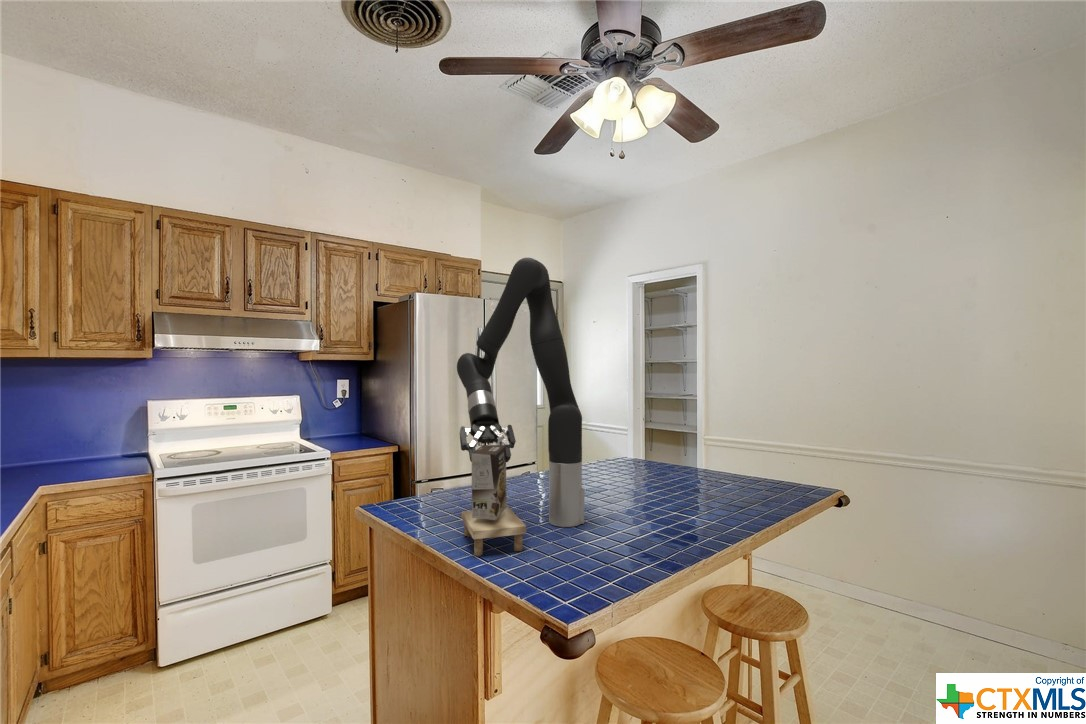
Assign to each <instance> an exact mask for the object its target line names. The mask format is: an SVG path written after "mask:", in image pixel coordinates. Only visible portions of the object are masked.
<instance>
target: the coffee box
mask: <svg viewBox="0 0 1086 724" xmlns="http://www.w3.org/2000/svg"><path fill="white" fill-rule="evenodd" d="M471 454H472V462H471V511H472V518H478V519H488V520H496V519H497V518H498V517H499V516H500V514H501V513H502V512H503V511H504V509H505V508H506V507H508V504H507V503H508V499H507V495H508V494H507V462H506V446H503V445H496V444H491V445H490V444H487V445H486V444H482V445H481V446H480V447H478V448H477V449H476V451H474V452H473V453H471Z"/></svg>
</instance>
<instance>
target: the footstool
mask: <svg viewBox="0 0 1086 724" xmlns="http://www.w3.org/2000/svg"><path fill="white" fill-rule="evenodd" d="M461 520H462V522H463V524H464V527H463V530H464V531H463V532H464V534H463V536H464V537H465V536H467V537H466V538H470V536H471V538H472V539H473V540H474V541H473V556H474V555H475V556H474V557H482V556H483V554H484V552H483V551H484V539H490V538H499V537H509V536H513V541H514V542H513V551H514V552H516V551H520V552H522V551H523V549H524V548H523V546H524V545H523V544H524V543H523V541H524V540H523V535H527V525H526V524H525V523H524V522H523V521H522V520H521V519H520V518H519V517H518V516H517V514H515V512H514V511H513V510H512V509H511V508H510V507H509V506H507V507H506V508H505V509H504V511H503V512H502V513H501V514H500V516H499V517H498V518H497V519H496V520H488V519H478V518H472V510H463V511H461ZM481 555H482V556H481Z"/></svg>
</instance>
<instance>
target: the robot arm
mask: <svg viewBox="0 0 1086 724" xmlns="http://www.w3.org/2000/svg"><path fill="white" fill-rule="evenodd" d="M524 300H526V302H527V306H528V310H529V311H528V312H529V339H530V345H531V349H532V354H533V359H534V361H535V365H536V367H537V369H538V373H539V374H540V378H541V380H542V382H543V384H544V387H545V389H546V390H545V391H546V394H547V398H548V404H549V413H550V414H549V415H548V420H547V421H548V422H547V423H548V426H547V429H548V430H547V433H548V434H547V436H548V438H547V440H548V446H547V448H548V449H547V450H548V523H549V524H550V525H552V526H555V527H560V528H561V527H562V528H573V527H577V526H580V525H581V524H585V497H586V496H585V494H586V492H585V488H583V482H582V481H583V463H582V462H583V433H582V432H583V415H582V412H581V411H580V408H579V405H578V403H577V400H576V397H575V394H574V390H573V388H572V387H573V386H572V384H571V376H570V368H569V362H568V356H567V351H566V350H567V349H566V346H565V342H564V338H563V334H562V330H561V327H560V323H559V320H558V317H557V313H556V311H555V306H554V302H553V295H552V289H551V281H550V274H549V271H548V268H547V267H546V266H545V265H544V264H543V263H542V262H541V261H539V260H537V259H535V258H533V257H522V258H521V259H519V260H517V261H516V262H515V263H514V265H513V267H512V268H511V272H510V274H509V277H508V279H507V282H506V285H505V286H504V289H503V292H502V293H501V296H500V299H499V300H498V303H497V305H496V306H495V309H494V311H493V313H492V314H491V316H490V318H489V319H488V320H487V323H486V325H485V326H484V328H483V329H482V331H481V333H480V335H479V336H478V338H477V340H476V346H477V348H478V349H479V350H481V351H482V352H483V353H484V355H483V357H481V356H479V355H476V354H473V353H471V352H470V353H469V352H465V353H463V354H461V355H460V356H459V358H458V360H457V363H456V372H457V375H458V378H459V379H460V382H461V383H462V385H463V387H464V388H465V391H466V398H467V412H468V413H467V414H468V416H469V422H470V423H469V424H470V428H469V427H468V428H467V427H465V426H463V425H462V426H461V427H460V428H459V434H458V435H459V441H460V450H461V451H467V452H468V453H469V460H470V463H472V454H471V453H473V452H474V451H476V450H477V449H476V448H477V447H478V445H479V444H480V443H481V444H482V445H486V444H493V443H494V445H503V446H506V463H509V461H510V460H511V457H512V453H511V449H514V448H515V444H516V442H517V440H516V437H515V433H514V429H513V426H512V425H511V424H508V425H507V426H501V424H500V422H499V416H498V411H497V405H496V402H495V398H494V396H493V392H492V385H491V383H490V381H489V379H490V378H491V376H492V375H493V372H494V369H495V364H496V360H497V358H498V355H499V352H500V350H501V348H502V347H503V345H504V344H505V341H506V340H507V339H508V336H509V335H510V332H511V330H512V328H513V326H514V322H515V318H516V316H517V313H518V311H519V309H520V307H521V305H522V304H523V302H524ZM502 433H503V434H502ZM469 434H470V435H471V436H472V437H473V439H472V440H471V441H470V442H467V437H468V436H469ZM505 436H506V438H507V439H506V438H505Z"/></svg>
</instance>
